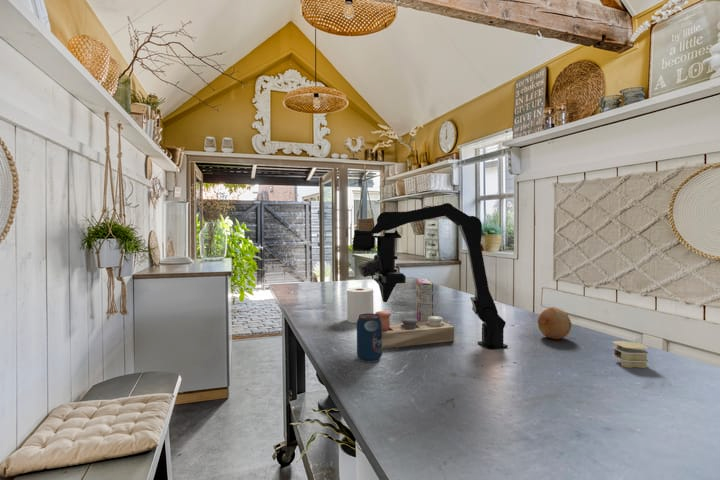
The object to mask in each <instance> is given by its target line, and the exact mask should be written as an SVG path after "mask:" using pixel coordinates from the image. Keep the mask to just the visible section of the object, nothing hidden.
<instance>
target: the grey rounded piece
mask: <svg viewBox="0 0 720 480" xmlns="http://www.w3.org/2000/svg"><path fill="white" fill-rule="evenodd" d="M401 323H403V328H405V329H411V328H416V323H417V318H411V317H409V318H403V319H401Z"/></svg>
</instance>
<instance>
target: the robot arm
mask: <svg viewBox="0 0 720 480" xmlns="http://www.w3.org/2000/svg"><path fill="white" fill-rule="evenodd" d="M441 217H445V218H446V219H448V220H450V221H451V222H452V223H454V224H455V225H457V226H458V229H459V231H460V234H461V235H462V238H463V240H464V242H465V245H466V247H467V253H468V258H469V263H470V268H471V274H472V280H473V285H474V286H473V287H474V296H471V297H470V302H471V304H472V307H471V308H472V309H471V310H472V311H473V312H474V314H475V315H476V316H477V317H478V319H480V321H481V322H482V323H481V341H477V344H479V345H481V346H483V347H484V348H486V349H489V350H496V349H502V348H508V347H509V346H508V345H507V344H505V343H504V329H505V326H506V321H505V320H504V319H503V318H502V317H501V316H500V315H499V314H498V313H499V312H498V311H499V310H498V309H497V306H496V303H495V300H494V299H493V296H492V294H491V292H490V289H489V282H488V278H487V272H486V266H485V261H484V256H483V250H482V236H483V233H482V232H483V231H482V230H483V227H482V226H483V224H482V221H481V219H480V218H479V217H477V216H474V215H468V214H466V213H465V212H463V211H462V210H460V209H458V208H456V207H455V206H454V205H453V204H452V203H449V202H444V203H442V204H438V205H433V206H428V207H423V208H417V209H413V210H406V211H383V212H381V213H380V214H378V216H377V219H376V223H375V225H374V226H373V227H372V229H371V230H361V229H355V230H354V234H353V238H352V239H353V240H352V251H353V252H360V253H361V252H362V253H365V252H366V253H367V252H368V253H369V252H370V253H371V252H372V251H373V249H376V254H374V256H373V260H370V261H366V262H364V263H362V264H359V265H357V267H358V270H359V273H360V274H359V275H360V276H362V277H363V278H366V277H373V276H375V278H373V281H375V283H376V284H378V287H379V291H380V296H381V298H382V302H383V303H387V302H388V301H389V299H390V297H391V295H392V293H393V290H394V289H395V287H396V286H397V284H406V279H407V278H406V277H407V276H406V275H405V274H404V273H402V272H400V271H398V269H396V260H398V255H396V241H397V240H396V239H401V238H402V234H400V233H399V231H398V230H397V228H398V227H402V226H405V225H407V224H409V223H415V222H421V221H426V220H430V219H436V218H441ZM394 229H396V230H395V231H394V232H387V231H391V230H394ZM384 231H385V232H384ZM382 232H384V233H383V235H376V234H380V233H382ZM376 239H377V240H376Z"/></svg>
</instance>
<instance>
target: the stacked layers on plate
mask: <svg viewBox="0 0 720 480" xmlns="http://www.w3.org/2000/svg"><path fill="white" fill-rule="evenodd" d="M612 343H614V344H615V345H613V346H612V347H611V348H612V349H613V353H612V356H613V357H615V358H616V359H619V360H620V366H622V367H624V368H640V369H641V368H642V369H643V368H644V369H647V363H649V362H650V361H649V360H648V358H647V357H648V356H647V355H649V354H650V353H649V352H648V351H646V350H645V349H649V347H648V346H646V345H645V344H643V343H639V342H638V343H637V342H630V341H622V340H614V341H612Z"/></svg>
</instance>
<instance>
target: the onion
mask: <svg viewBox="0 0 720 480" xmlns="http://www.w3.org/2000/svg"><path fill="white" fill-rule="evenodd" d="M537 326H538V329H539V331H540V332H541V334H542V335H543V336H544V337H546V338H549V339H554V340H560V339H563V338H565V337H567V336H568V335H569V333H571V332H570V331H571V329H572V321H571V318H570V317H569V315H568V314H567V313H566V312H565V311H564V310H562V309H560V308H558V307H555V306H552V307H548V308H546V309H544V310H543V311H541V313H540V314H539V315H538V319H537Z"/></svg>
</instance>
